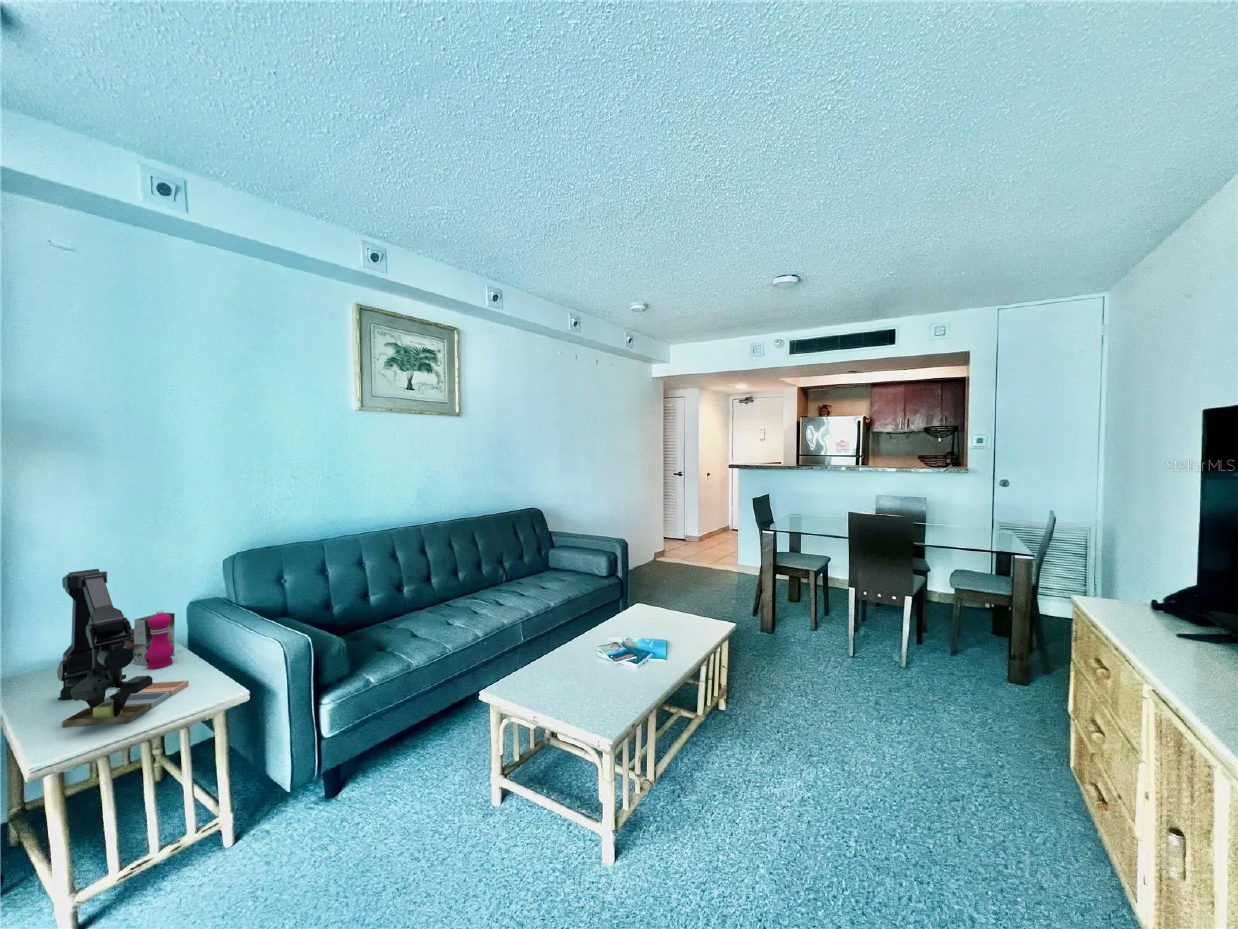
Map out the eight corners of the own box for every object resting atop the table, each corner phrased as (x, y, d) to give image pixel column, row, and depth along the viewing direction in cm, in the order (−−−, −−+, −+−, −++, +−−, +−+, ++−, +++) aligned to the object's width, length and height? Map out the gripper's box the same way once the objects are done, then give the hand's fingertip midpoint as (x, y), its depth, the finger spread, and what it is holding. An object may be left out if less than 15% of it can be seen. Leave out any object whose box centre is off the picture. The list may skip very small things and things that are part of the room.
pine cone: (149, 656, 177) (149, 630, 177) (110, 666, 169) (110, 638, 169) (139, 645, 188) (139, 620, 188) (102, 653, 180) (102, 627, 180)
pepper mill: (146, 672, 164) (146, 614, 164) (145, 665, 169) (145, 610, 169) (175, 665, 170) (174, 609, 170) (172, 659, 175) (172, 605, 175)
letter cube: (92, 722, 132) (92, 708, 132) (106, 715, 136) (106, 700, 136) (109, 721, 132) (109, 707, 132) (122, 714, 136) (122, 699, 136)
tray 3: (112, 701, 144) (112, 694, 144) (132, 690, 151) (132, 683, 151) (171, 698, 147) (171, 690, 147) (188, 687, 154) (188, 680, 154)
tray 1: (62, 729, 129) (62, 721, 129) (87, 715, 136) (86, 708, 136) (129, 724, 132) (129, 716, 132) (150, 711, 139) (150, 704, 139)
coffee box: (147, 665, 170) (146, 620, 169) (133, 664, 171) (133, 619, 171) (175, 655, 178) (175, 612, 178) (162, 654, 180) (162, 611, 180)
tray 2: (88, 714, 137) (88, 707, 137) (110, 702, 144) (110, 695, 144) (151, 710, 139) (151, 703, 139) (170, 698, 146) (170, 691, 146)
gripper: (38, 676, 125) (39, 735, 125) (119, 672, 127) (120, 729, 128) (80, 658, 136) (80, 713, 136) (154, 655, 138) (154, 708, 139)
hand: (107, 716), depth 134 cm, fingers open, 4 cm apart
